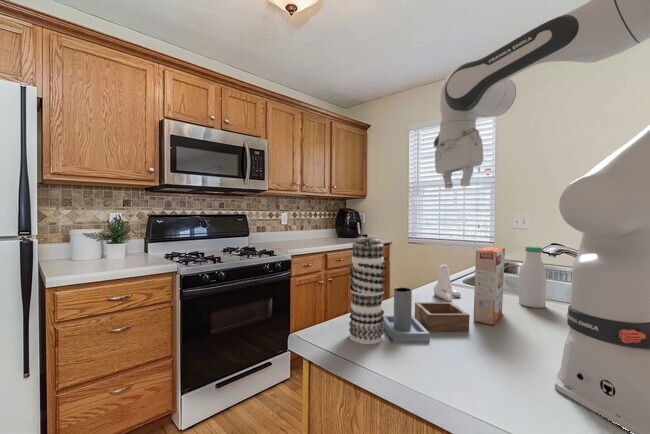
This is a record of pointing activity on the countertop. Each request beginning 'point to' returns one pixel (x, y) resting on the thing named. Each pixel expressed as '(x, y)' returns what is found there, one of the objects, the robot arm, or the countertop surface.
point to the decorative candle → (367, 291)
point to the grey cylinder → (402, 309)
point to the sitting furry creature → (445, 285)
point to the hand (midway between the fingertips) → (456, 187)
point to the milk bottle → (532, 279)
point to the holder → (441, 317)
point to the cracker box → (489, 284)
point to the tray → (413, 335)
